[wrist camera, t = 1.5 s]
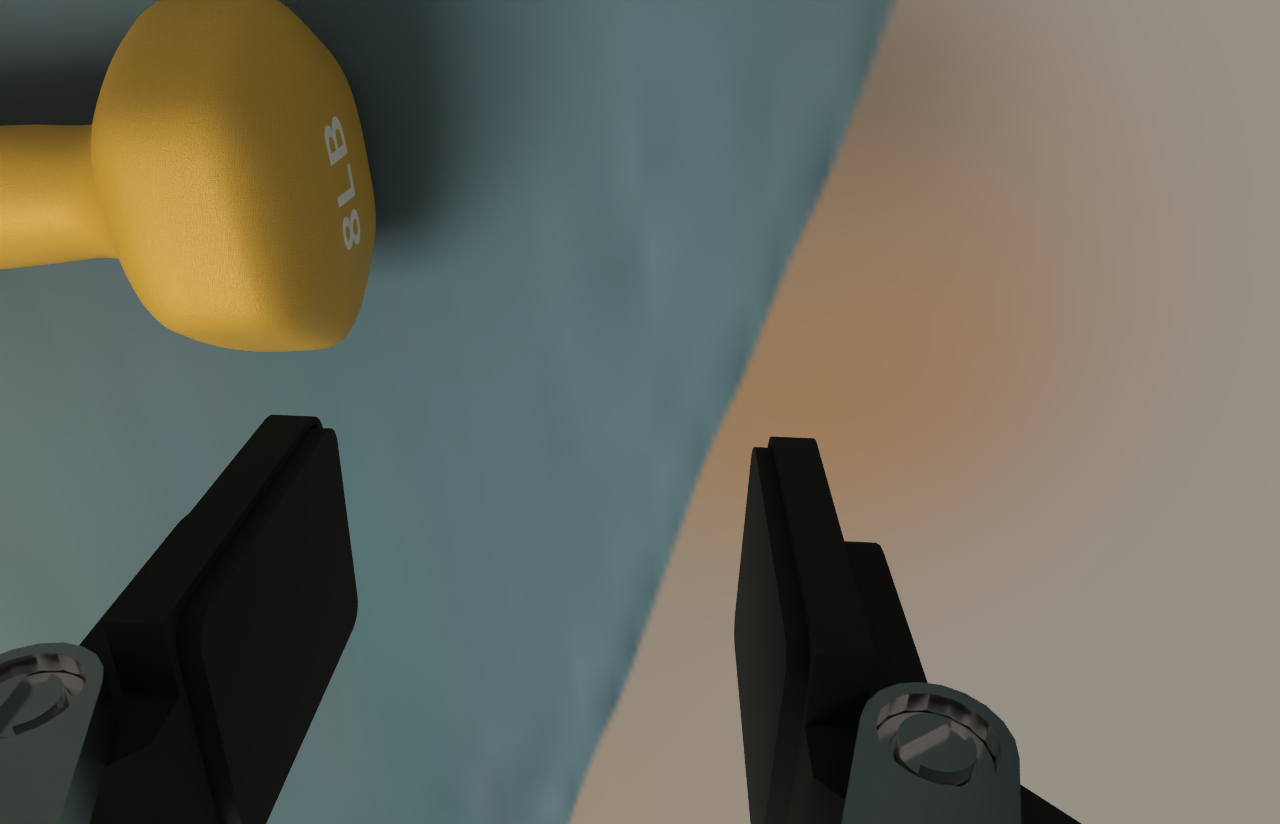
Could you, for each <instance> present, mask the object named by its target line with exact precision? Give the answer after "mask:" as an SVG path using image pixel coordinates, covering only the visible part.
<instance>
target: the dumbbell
mask: <svg viewBox="0 0 1280 824" xmlns="http://www.w3.org/2000/svg"><path fill="white" fill-rule="evenodd" d="M375 232H376V211H375V200H374V193H373V186H372V180H371V175H370V169H369V164H368V158H367V153H366V148H365V143H364V138H363V133H362V128H361V124H360V119H359V116H358V112H357V108H356V105H355V101H354V98H353V95H352V92H351V89H350V86H349V83H348V81H347V79H346V77H345V75H344V73H343V71H342V69H341V67H340V65H339V64H338V62H337V61H336V59H335V58H334V56H333V55H332V54H331V52H330V51H329V50H328V49H327V48H326V47H325V45H324V44H323V43H322V42H321V41H320V40H319V39H318V38H317V37H316V36H315V34H314V33H313V32H312V31H311V30H310V29H309V28H308V27H307V26H306V25H305V24H304V23H303V22H302V21H301V20H300V19H299V18H298V17H297V16H296V15H295V14H294V13H293V12H292V11H291V10H290V9H289V8H288V7H286V6H285V5H284V4H283V3H281V2H280V1H279V0H160V1H158V2H156V3H155V4H153V5H152V6H150V7H149V8H147V9H145V10H144V11H143V12H142V13H141V15H140V16H139V17H138V18H137V19H136V21H135V22H134V24H133V25H132V27H131V28H130V30H129V31H128V32H127V34H126V36H125V37H124V39H123V40H122V42H121V44H120V45H119V47H118V49H117V51H116V53H115V55H114V57H113V59H112V61H111V63H110V65H109V68H108V70H107V73H106V76H105V78H104V81H103V84H102V87H101V90H100V94H99V97H98V101H97V104H96V109H95V113H94V118H93V123H92V124H90V125H72V126H70V125H38V124H36V125H5V126H0V269H10V268H19V267H28V266H37V265H46V264H55V263H63V262H70V261H77V260H84V259H92V258H117V259H119V260H120V263H121V265H122V268H123V270H124V272H125V274H126V276H127V278H128V279H129V281H130V283H131V285H132V287H133V289H134V291H135V292H136V294H137V296H138V298H139V299H140V300H141V302H142V303H143V305H144V306H145V307H146V309H147V310H148V311H149V312H150V313H151V314H152V315H153V316H154V317H155V318H156V319H157V320H158V321H159V322H160V323H161V324H162V325H163V326H165V327H167V328H168V329H170V330H172V331H174V332H176V333H179V334H182V335H184V336H187V337H189V338H192V339H195V340H197V341H200V342H203V343H207V344H211V345H214V346H219V347H224V348H229V349H238V350H247V351H257V352H277V351H299V350H318V349H324V348H329V347H332V346H333V345H335V344H337V343H338V342H340V341H341V340H342V339H344V338H345V337H346V335H347V334H348V333H349V331H350V330H351V328H352V327H353V325H354V323H355V321H356V318H357V316H358V314H359V311H360V308H361V305H362V302H363V297H364V293H365V289H366V284H367V279H368V274H369V269H370V264H371V259H372V254H373V248H374V242H375Z"/></svg>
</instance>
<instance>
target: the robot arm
mask: <svg viewBox="0 0 1280 824" xmlns="http://www.w3.org/2000/svg"><path fill="white" fill-rule="evenodd" d="M357 608H358V599H357V590H356V582H355V574H354V566H353V559H352V551H351V543H350V535H349V528H348V520H347V512H346V504H345V497H344V489H343V481H342V473H341V466H340V458H339V450H338V442H337V437H336V434H335V431H334V430H333V429H329V428H323V427H322V424H321V422H320V420H319V419H318V418H317V417H311V416H288V415H270V416H268V417H267V418H266V419H265V420H264V422H263V423H262V424H261V425H260V427H259V428H258V429H257V430H256V432H255V433H254V434H253V435H252V436H251V438H250V439H249V440H248V441H247V443H246V444H245V445H244V446H243V448H242V449H241V450H240V451H239V453H238V454H237V455H236V456H235V458H234V459H233V460H232V461H231V462H230V464H229V465H228V466H227V467H226V469H225V470H224V471H223V472H222V474H221V475H220V476H219V477H218V479H217V480H216V481H215V482H214V483H213V485H212V486H211V487H210V488H209V490H208V491H207V492H206V493H205V495H204V496H203V497H202V498H201V500H200V501H199V502H198V503H197V505H196V506H195V507H194V508H193V509H192V511H191V512H190V513H189V514H188V515H187V516H185V517H184V518H183V519H182V520H181V521H180V522H179V523H178V524H177V526H176V527H175V528H174V529H173V531H172V532H171V533H170V534H169V535H168V537H167V538H166V539H165V540H164V542H163V543H162V544H161V545H160V546H159V548H158V549H157V550H156V551H155V553H154V554H153V555H152V556H151V558H150V559H149V560H148V561H147V562H146V564H145V565H144V566H143V567H142V569H141V570H140V571H139V572H138V574H137V575H136V576H135V577H134V578H133V580H132V581H131V582H130V583H129V585H128V586H127V587H126V588H125V590H124V591H123V592H122V593H121V594H120V596H119V597H118V598H117V599H116V601H115V602H114V603H113V604H112V606H111V607H110V608H109V609H108V610H107V612H106V613H105V614H104V615H103V617H102V618H101V619H100V620H99V622H98V623H97V624H96V625H95V626H94V628H93V629H92V630H91V631H90V633H89V634H88V635H87V636H86V638H85V639H84V640H83V641H82V642H81V644H80V645H79V646H78V645H73V644H68V643H43V644H35V645H31V646H26V647H22V648H17V649H13V650H10V651H8V652H5V653H2V654H0V824H266V823H267V820H268V818H269V816H270V814H271V811H272V809H273V807H274V805H275V802H276V800H277V798H278V796H279V794H280V791H281V789H282V787H283V785H284V782H285V780H286V778H287V776H288V773H289V771H290V769H291V767H292V764H293V762H294V760H295V758H296V755H297V753H298V751H299V749H300V746H301V744H302V742H303V740H304V738H305V735H306V733H307V731H308V729H309V726H310V724H311V722H312V720H313V717H314V715H315V713H316V711H317V708H318V706H319V704H320V702H321V699H322V697H323V695H324V693H325V690H326V688H327V686H328V684H329V681H330V679H331V677H332V675H333V673H334V670H335V668H336V666H337V664H338V661H339V659H340V657H341V655H342V652H343V650H344V648H345V646H346V643H347V641H348V639H349V637H350V634H351V632H352V630H353V627H354V625H355V621H356V617H357ZM734 639H735V653H736V665H737V676H738V686H739V698H740V709H741V720H742V732H743V743H744V754H745V765H746V777H747V788H748V799H749V810H750V821H751V824H1081V823H1079V822H1078V821H1076V820H1075V819H1073V818H1071V817H1070V816H1068V815H1067V814H1065V813H1064V812H1062V811H1061V810H1059V809H1058V808H1056V807H1055V806H1053V805H1051V804H1050V803H1048V802H1047V801H1045V800H1044V799H1042V798H1041V797H1039V796H1037V795H1036V794H1034V793H1033V792H1031V791H1030V790H1028V789H1027V788H1025V787H1023V786H1022V785H1020V759H1019V755H1018V750H1017V746H1016V742H1015V739H1014V737H1013V736H1012V734H1011V733H1010V731H1009V730H1008V728H1007V726H1006V725H1005V723H1004V722H1003V721H1002V720H1001V719H1000V718H999V717H998V716H997V715H996V714H995V713H993V712H992V711H991V710H990V709H989V708H988V707H987V706H986V705H984V704H982V703H981V702H979V701H977V700H975V699H974V698H972V697H970V696H969V695H967V694H965V693H962V692H959V691H957V690H954V689H951V688H948V687H946V686H942V685H937V684H930V683H927V680H926V677H925V674H924V671H923V668H922V665H921V662H920V659H919V656H918V653H917V650H916V647H915V644H914V641H913V638H912V635H911V633H910V629H909V627H908V623H907V621H906V618H905V615H904V612H903V609H902V606H901V603H900V600H899V597H898V594H897V591H896V588H895V585H894V582H893V579H892V576H891V573H890V570H889V567H888V564H887V561H886V558H885V555H884V553H883V550H882V548H881V546H880V545H879V544H877V543H869V542H847V541H844V539H843V535H842V532H841V528H840V525H839V521H838V517H837V514H836V510H835V507H834V503H833V500H832V496H831V492H830V489H829V485H828V482H827V478H826V475H825V471H824V468H823V464H822V460H821V457H820V453H819V450H818V446H817V443H816V440H815V439H813V438H789V437H770V439H769V443H768V448H761V447H754V448H753V450H752V457H751V465H750V475H749V485H748V495H747V504H746V514H745V524H744V533H743V543H742V553H741V563H740V573H739V582H738V592H737V601H736V611H735V627H734Z"/></svg>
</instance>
